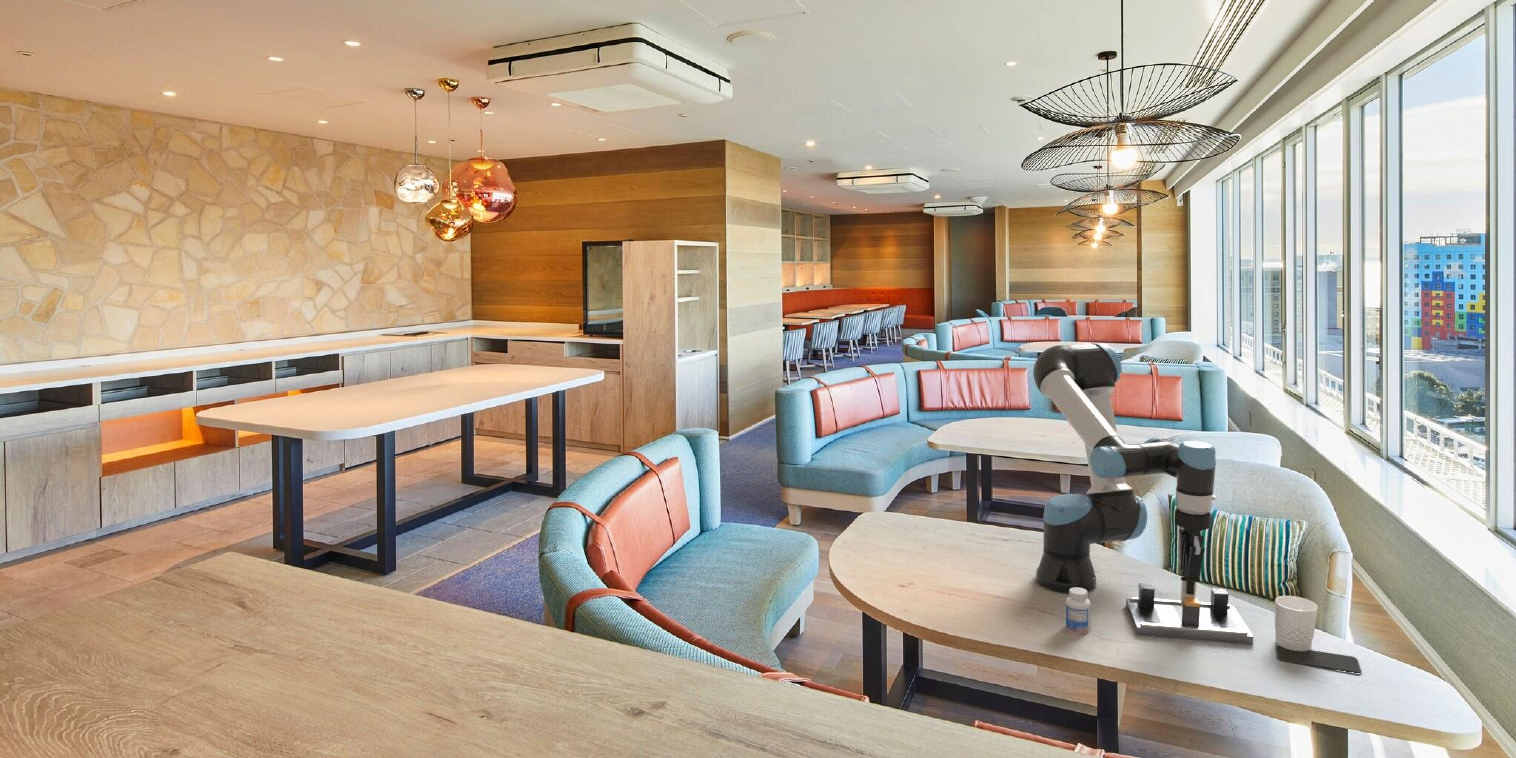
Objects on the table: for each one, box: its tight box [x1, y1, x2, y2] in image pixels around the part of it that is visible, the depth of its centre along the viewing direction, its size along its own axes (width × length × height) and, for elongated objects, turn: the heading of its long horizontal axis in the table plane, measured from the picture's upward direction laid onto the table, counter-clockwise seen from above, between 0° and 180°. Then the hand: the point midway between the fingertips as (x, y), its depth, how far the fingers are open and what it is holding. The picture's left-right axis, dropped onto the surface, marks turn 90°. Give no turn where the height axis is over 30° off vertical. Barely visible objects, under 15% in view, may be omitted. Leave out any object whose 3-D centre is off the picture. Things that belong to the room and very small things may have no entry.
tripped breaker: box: [1182, 597, 1201, 627], centre depth 191 cm, size 3×3×6 cm
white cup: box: [1274, 595, 1319, 651], centre depth 183 cm, size 8×8×10 cm
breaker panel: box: [1125, 582, 1254, 646], centre depth 195 cm, size 24×16×7 cm, turn 74°
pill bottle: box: [1065, 587, 1091, 635], centre depth 194 cm, size 6×5×10 cm
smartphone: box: [1275, 645, 1362, 674], centre depth 177 cm, size 7×1×15 cm
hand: (1187, 604), depth 193 cm, fingers closed
